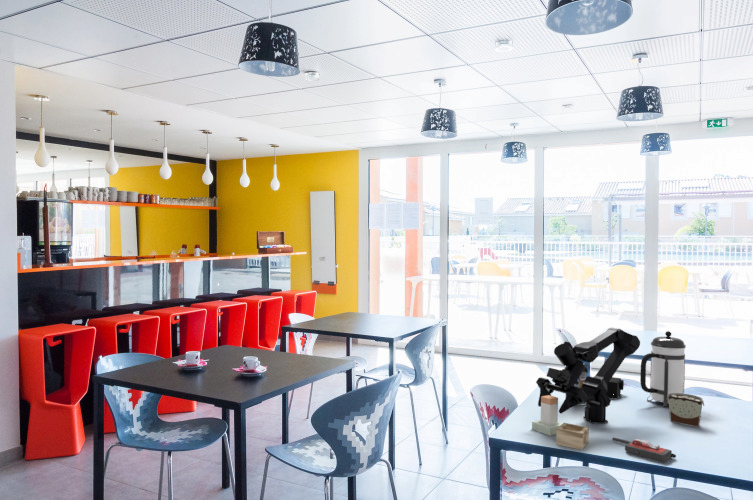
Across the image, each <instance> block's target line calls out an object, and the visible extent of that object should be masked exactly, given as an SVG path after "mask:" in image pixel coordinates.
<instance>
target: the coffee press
mask: <svg viewBox="0 0 753 500" xmlns="http://www.w3.org/2000/svg"><path fill="white" fill-rule="evenodd" d="M664 334H665V336H657V337H654V338H653V339H652V340H651V342H650V345H651V350H650V352H649V353H646V354H644V356H643V357H642V359H641V362H640V388H642V391H644V392H646V393H649V396H648V397H647V399H646V400H647V402H649V401H650V402H652V401H653V400H654V401H657V402H660V403H663V408H668V407H669V400H668V399H667V396H668V394H670V393H683V394H685V376H686V375H685V374H686V373H685V372H686V370H685V369H686V354H685V350H686V347H687V345H686V344H685V342H684V340H682V339H680V338H677V337H671V336H672V332H671V331H669V330H667V331H665V333H664ZM649 359H650V383H649V386H650V388H648V387H647V385H646V383H647V382H646V381H647V380H646V377H647V375H646V374H647V362H648V360H649ZM650 397H651V399H649V398H650Z"/></svg>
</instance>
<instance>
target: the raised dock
mask: <svg viewBox="0 0 753 500" xmlns="http://www.w3.org/2000/svg"><path fill="white" fill-rule="evenodd" d="M589 428H590V427H588V426H583V425H577V424H572V423H569V422H568V423H567V422H563V424H562V425H561V426H559V427H558V428H557V434H556V443H555V444H556V445H559V446H562V447H563V446H565V447H568V448H572V449H578V450H584V448H585V447H586V446H587V445H588V444H589V434H590V433H589V432H590V429H589Z"/></svg>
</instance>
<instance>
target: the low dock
mask: <svg viewBox="0 0 753 500" xmlns="http://www.w3.org/2000/svg"><path fill="white" fill-rule="evenodd" d="M563 423H564V422H563ZM563 423H562V422H560V421H558V425H554V426H547V425H544V424H541V419H539V420H533V421H531V429H532V430H534V431H536V432H539V433H542V434H545V435H547V436H554V435H557V428H558V427H559V426H561V425H562V424H563Z"/></svg>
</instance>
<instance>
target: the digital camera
mask: <svg viewBox="0 0 753 500" xmlns="http://www.w3.org/2000/svg"><path fill="white" fill-rule="evenodd" d="M624 381H625V380H624V379H622V378H621V377H614V376H613V377H612V378H611V379H610V381H609V382H608V384H607V395H608V397H611V398H610V399H615V398H617V399H618V398H619V397H620V395H621V394H620V393H621V391H624V388H625V386H624V384H625V382H624ZM613 394H614V395H613ZM618 396H619V397H618Z"/></svg>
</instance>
